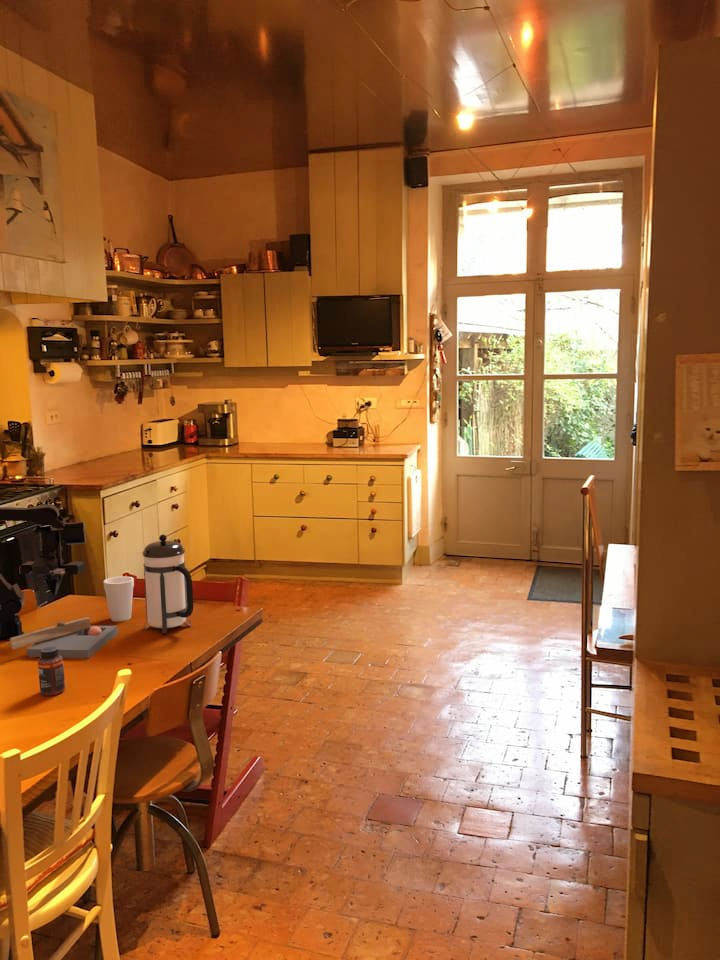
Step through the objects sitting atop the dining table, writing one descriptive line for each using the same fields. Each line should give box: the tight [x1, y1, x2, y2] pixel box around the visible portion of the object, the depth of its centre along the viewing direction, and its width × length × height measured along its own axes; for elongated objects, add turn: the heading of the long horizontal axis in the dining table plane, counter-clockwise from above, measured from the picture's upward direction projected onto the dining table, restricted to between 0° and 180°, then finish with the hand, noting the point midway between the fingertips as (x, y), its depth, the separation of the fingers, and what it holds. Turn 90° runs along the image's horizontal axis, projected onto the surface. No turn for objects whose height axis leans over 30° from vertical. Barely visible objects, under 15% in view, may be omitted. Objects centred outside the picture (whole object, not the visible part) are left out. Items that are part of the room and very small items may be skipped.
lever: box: [9, 616, 91, 650], centre depth 226 cm, size 2×24×4 cm, turn 140°
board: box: [26, 625, 119, 659], centre depth 228 cm, size 18×21×2 cm
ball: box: [88, 625, 102, 636], centre depth 233 cm, size 4×4×4 cm
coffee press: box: [142, 534, 194, 636], centre depth 240 cm, size 17×16×30 cm
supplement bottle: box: [37, 647, 66, 697], centre depth 193 cm, size 6×6×11 cm
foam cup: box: [103, 575, 135, 622], centre depth 252 cm, size 10×9×13 cm
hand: (54, 594), depth 239 cm, fingers closed
